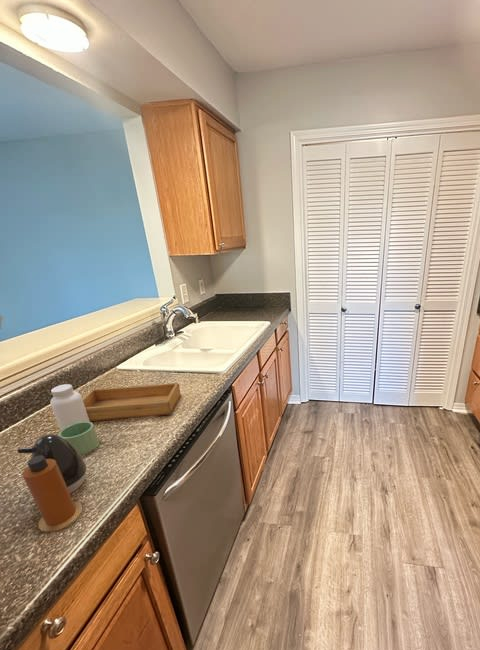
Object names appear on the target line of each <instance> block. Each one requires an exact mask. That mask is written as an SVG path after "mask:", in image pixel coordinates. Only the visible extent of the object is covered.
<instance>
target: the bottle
mask: <svg viewBox="0 0 480 650" xmlns="http://www.w3.org/2000/svg"><path fill="white" fill-rule="evenodd" d="M26 464H27V467H26V468H24V470H23V471H22V473H21V475H22V478H23V480H24V482H25V484H26V486H27V488H28V490H29V492H30V493H31V496H32V498H33V501H34V502H35V504H36V506H37V508H38V510H39V513H40V515H41V517H43V519H44V521H45V523H46V524H47V525H49V526H54V525H58V524H61V523H63V522H65V521H67V520H68V519H70V518H71V517H72V516H73V515H74V513H75V511H76V507H75V505H74V502H73V501H74V500H73V498H72V495H71V493H69V491H68V488H67V486H66V484H65V481H64V479H63V477H62V474H61V472H60V470H59V467H58V465H57V462H56V461H55V460H54V459H45V457H44V456H42V455H40V456H36V457H33V458H31V457H30V459H29V460H27V462H26Z"/></svg>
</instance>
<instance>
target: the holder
mask: <svg viewBox="0 0 480 650" xmlns="http://www.w3.org/2000/svg"><path fill="white" fill-rule="evenodd" d="M95 427H96V426H95V425H94V423H93V421H90V422H88V421H87V422H79V423H75V424H72V425H69V426H67V427H66V428H64V429H63V430H59V432H58V433H57V435H58V436H60V437H62V438H63V439H65V440H66V441H67V442H69V443H70V444H71V445H72V446H73V447H74V448H75V449H76V450H77V452H78V453H79V454H80V456H84V455H86V454H89V453H91V452H92V451H93V450H94V451H95V449H97V448H98V446H99V445H100V439H99V435H98V433H97V429H96V428H95Z"/></svg>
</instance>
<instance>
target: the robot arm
mask: <svg viewBox="0 0 480 650" xmlns="http://www.w3.org/2000/svg"><path fill="white" fill-rule="evenodd" d="M3 319H4V318H3V316H2V314H1V315H0V328H1V327H2V323H3Z"/></svg>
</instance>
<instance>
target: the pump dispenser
mask: <svg viewBox="0 0 480 650" xmlns="http://www.w3.org/2000/svg"><path fill="white" fill-rule="evenodd" d="M17 454H31V456H30V459H31V458H33V457H36V456H40V455H42V456H44V457H45V459H54V460H55V461H56V462H57V465H58V467H59V470H60V472H61V474H62V477H63V479H64V481H65V484H66V486H67V488H68V491H69V493H70V494H72V493H74V492H75V491H77V490H78V489H79V488H80V487H81V486H82V484H84V481H85V479H86V476H87V464H86V462H85V461H84V459H83V457H82V455H80V454H79V453H78V452H77V450H76V449H75V448H74V447H73V446H72V445H71V444H70V443H69V442H67V441H66V440H65V439H63V438H62V437H60V436H58V434H54V433H51V434H50V433H49V434H44V435H42V436H41V437H39V438H38V439H36V441H35V442H34V444H33V446H26V447H19V448H17Z"/></svg>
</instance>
